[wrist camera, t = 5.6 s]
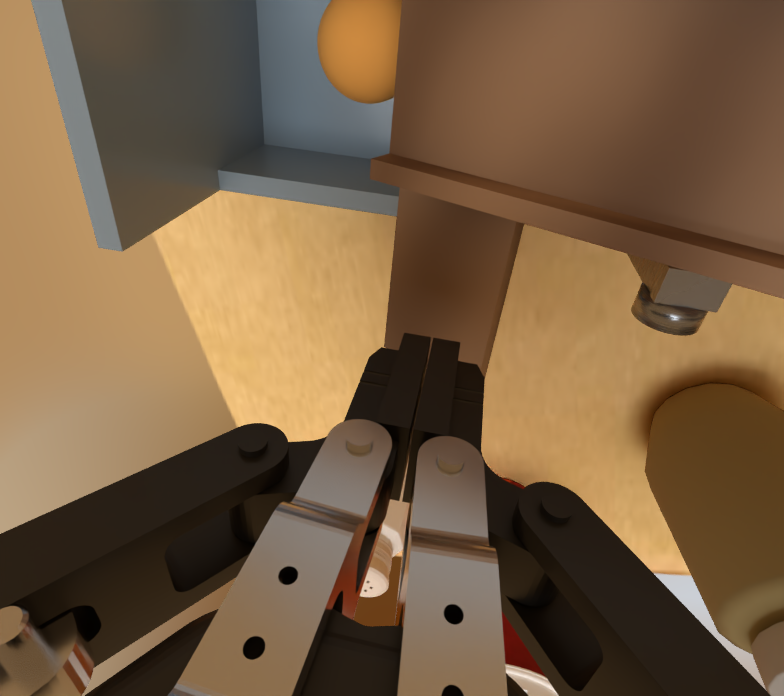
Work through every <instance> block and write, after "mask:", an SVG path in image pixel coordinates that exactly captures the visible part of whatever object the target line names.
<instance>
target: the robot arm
mask: <svg viewBox="0 0 784 696" xmlns="http://www.w3.org/2000/svg"><path fill="white" fill-rule="evenodd" d="M430 343H431V337H427V336H422V335H416V334H410V333H404V334H403V338H402V341H401V344H400V347H399V350H394V349H388V348H382V347H381V348H380V349H379V350H378V351H376V352H375V353H374V354H373V355H371V356H370V357H369V359H368V362H367V364H366V367H365V369H364V372H363V374H362V377H361V379H360V383H359V385H358V387H357V390H356V392H355V395H354V397H353V400H352V402H351V405H350V407H349V410H348V412H347V415H346V417H345V420H344V422H342V423H340V424H338V425H336V426H335V427H334V428H333V429H332V430H331V431H330V433H329V434H328V436H327V437H325V438H322V439H318V440H314V441H302V442H288V440H287V438H286V436H285V434H284V433H283V432H282V431H281V430H280V429H278V428H276V427H274V426H272V425H268V424H262V423H254V424H247V425H243V426H241V427H238V428H236V429H233V430H231V431H229V432H227V433H224V434H222V435H220V436H218V437H216V438H213V439H212V440H209V441H207V442H205V443H202V444H200V445H198V446H195V447H193V448H191V449H189V450H187V451H184V452H182V453H180V454H178V455H176V456H173V457H171V458H169V459H167V460H164V461H162V462H160V463H158V464H155V465H153V466H151V467H149V468H147V469H144V470H142V471H140V472H138V473H135V474H133V475H131V476H129V477H126V478H125V479H122V480H120V481H118V482H115V483H113V484H111V485H109V486H107V487H104V488H102V489H100V490H98V491H95V492H93V493H91V494H88V495H86V496H84V497H82V498H80V499H78V500H75V501H73V502H71V503H68V504H66V505H64V506H62V507H59V508H57V509H55V510H53V511H51V512H48V513H46V514H44V515H42V516H39V517H37V518H35V519H33V520H31V521H28V522H26V523H24V524H22V525H19V526H17V527H15V528H13V529H11V530H8V531H6V532H4V533H1V534H0V696H82V694H83V693H84V691H85V689H86V688H87V686H88V684H89V682H90V679H91V676H92V673H93V668H94V667H96V666H97V665H99V664H100V663H102V662H104V661H105V660H107V659H108V658H110V657H111V656H113V655H115V654H116V653H118V652H119V651H121V650H122V649H124V648H125V647H127V646H129V645H130V644H132V643H133V642H135V641H137V640H138V639H140V638H141V637H143V636H144V635H146V634H148V633H149V632H151V631H152V630H154V629H155V628H157V627H159V626H160V625H162V624H163V623H165V622H166V621H168V620H169V619H171V618H173V617H174V616H176V615H177V614H179V613H181V612H182V611H184V610H185V609H187V608H188V607H190V606H192V605H193V604H194V603H196V602H198V601H199V600H201V599H203V598H204V597H206V596H207V595H209V594H210V593H212V592H214V591H215V590H217V589H218V588H220V587H221V586H223V585H225V584H226V583H228V582H229V581H231V580H232V579H234V578H236V577H237V578H236V579H235V581H234V583H233V585H232V587H231V588H230V590H229V592H228V594H227V596H226V597H225V599H224V601H223V603H222V604H221V606H220V608H219V609H217V610H215V611H212V612H210V613H208V614H205V615H203V616H201V617H199V618H198V619H196V620H194V621H192V622H190V623H189V624H187V625H186V626H184V627H183V628H181V629H180V630H178V631H177V632H175V633H174V634H173V635H171V636H170V637H168V638H167V639H165V640H164V641H162V642H161V643H160V644H158V645H157V646H155V647H154V648H152V649H151V650H150V651H148V652H147V653H145V654H144V655H142V656H141V657H139V658H138V659H137V660H135V661H134V662H132V663H131V664H129V665H128V666H127V667H125V668H124V669H122V670H121V671H119V672H118V673H116V674H115V675H114V676H112V677H111V678H109V679H108V680H107V681H105V682H104V683H102V684H101V685H99V686H98V687H96V688H95V689H93V690H92V691H91V692H89V693H88V694H86V695H85V696H528V694H527V693H526V692H525V691H524V690H523V689H522V688H521V687H520V686H519V685H518V684H517V682H516V681H514V680H513V679H512V678H511V677H510V676H509V675H508V674H507V673H506V666H505V652H504V638H503V624H502V612H503V613H504V615H505V616H506V618H507V619H508V621H509V622H510V624H511V625H512V627H513V628H514V630H515V631H516V633H517V634H518V636H519V637H520V639H521V640H522V642H523V643H524V645H525V646H526V648H527V649H528V651H529V652H530V654H531V655H532V657H533V658H534V660H535V661H536V663H537V664H538V666H539V667H540V669H541V670H542V672H543V673H544V675H545V676H546V678H547V679H548V681H549V682H550V684H551V685H552V687H553V688H554V690H555V691H556V693H557V694H558V696H771V695H770V694H769V693H768V692H767V691H766V690H765V689H764V688H763V687H762V686H761V685H760V684H759V683H758V682H757V681H756V680H755V679H754V678H753V677H752V676H751V674H750V673H749V672H747V670H746V669H745V668H744V667H743V666H742V665H741V664H740V663H739V662H738V661H737V660H736V659H735V658H734V657H733V656H732V655H731V654H730V653H729V652H728V651H727V650H726V648H724V646H722V644H721V643H720V642H719V641H718V640H717V639H716V638H715V637H714V636H713V635H712V634H711V633H710V632H709V631H708V630H707V629H706V628H705V627H704V626H703V625H702V624H701V623H700V621H699V620H698V619H697V618H695V616H694V615H693V614H692V613H691V612H690V611H689V610H688V609H687V608H686V607H685V606H684V605H683V604H682V603H681V602H680V601H679V600H678V599H677V598H676V597H675V596H674V595H673V593H672V592H670V590H669V589H668V588H667V587H666V586H665V585H664V584H663V583H662V582H661V581H660V580H659V579H658V578H657V577H656V576H655V575H654V574H653V573H652V572H651V571H650V570H649V569H648V568H647V566H646V565H645V564H644V563H643V562H642V561H641V560H640V559H639V558H638V557H637V556H636V555H635V554H634V553H633V552H632V551H631V550H630V549H629V548H628V547H627V546H626V545H625V544H624V543H623V542H622V541H621V539H620V538H619V537H618V536H617V535H616V534H615V533H614V532H613V531H612V530H611V529H610V528H609V527H608V526H607V525H606V524H605V523H604V522H603V521H602V520H601V519H600V518H599V517H598V516H597V515H596V514H595V513H594V511H593V510H592V509H591V508H590V507H589V506H588V505H587V504H586V503H585V502H584V501H583V500H582V499H581V498H580V497H579V496H578V495H577V494H575V493H574V492H572V491H571V490H569V489H568V488H566V487H563V486H561V485H558V484H555V483H550V482H536V483H533V484H530V485H528V486H527V487H525V488H524V489H522V488H520V487H518V486H516V485H514V484H512V483H509V482H507V481H506V480H504V479H502V478H500V477H499V476H498V475H496V474H495V473H494V472H493V471H492V470H491V469H490V468H489V467H488V466H487V464H486V463H485V461H484V459H483V457H482V453H481V436H482V417H483V398H484V379H485V378H484V376H483V374H482V372H481V371H480V369H479V367H478V365H477V364H472V363H467V362H461V361H458V357H459V349H460V342H457V341H451V340H445V339H439V338H433V341H432V346H431V351H430V355H429V349H430ZM428 355H429V360H428ZM427 362H428V364H427ZM426 368H427V369H426ZM408 459H409V460H408ZM407 463H408V467H407ZM406 468H407V473H406ZM405 473H406V480H405V486H404V493H403V500H402V502H406V503H409V509H408V516H407V522H406V528H405V534H404V542H403V552H402V562H401V572H400V581H399V591H398V600H397V609H396V618H395V625H394V626H375V627H370V626H364V625H361V624H359V623H357V622H356V621H354V620H353V618H354V614H355V610H356V606H357V603H358V599H359V596H360V593H361V590H362V587H363V584H364V581H365V578H366V575H367V572H368V569H369V566H370V563H371V560H372V557H373V554H374V551H375V548H376V545H377V542H378V539H379V536H380V533H381V530H382V525H383V521H384V520H385V517H386V514H387V510H388V506H389V502H390V499H391V500H396V501H399V500H400V496H401V491H402V486H403V482H404V477H405Z"/></svg>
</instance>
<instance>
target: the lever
mask: <svg viewBox="0 0 784 696" xmlns="http://www.w3.org/2000/svg"><path fill="white" fill-rule="evenodd" d="M370 179H372V180H375V181H379V182H382V183H386V184H389V185H392V186H396V187H399V188H400V190H399V200H398V210H397V221H396V231H395V241H394V251H393V262H392V272H391V282H390V292H389V303H388V313H387V323H386V333H385V343H384V347H386V348H388V349H394V350H399V347H400V344H401V341H402V338H403V334H404V333H410V334H416V335H422V336H427V337H431V343H430V349H429V355H430V351H431V346H432V341H433V338H439V339H445V340H451V341H457V342H460V349H459V357H458V361H461V362H467V363H472V364H477V365H478V367H479V369H480V371H481V372H482V374H483V376H484V378H485V376H486V372H487V368H488V364H489V360H490V356H491V352H492V348H493V344H494V340H495V336H496V332H497V328H498V324H499V320H500V317H501V313H502V309H503V305H504V301H505V297H506V293H507V289H508V285H509V281H510V277H511V273H512V269H513V265H514V261H515V257H516V253H517V249H518V245H519V242H520V238H521V234H522V230H523V226H524V224H527V225H531V226H534V227H538V228H541V229H544V230H548V231H551V232H555V233H558V234H562V235H565V236H569V237H572V238H576V239H579V240H583V241H586V242H589V243H593V244H596V245H600V246H603V247H607V248H610V249H614V250H617V251H621V252H624V253H627V254H631V255H634V256H638V257H641V258H645V259H648V260H652V261H655V262H659V263H662V264H665V265H669V266H672V267H676V268H679V269H683V270H686V271H690V272H693V273H697V274H700V275H703V276H707V277H710V278H714V279H717V280H721V281H724V282H728V283H731V284H735V285H738V286H741V287H745V288H748V289H752V290H755V291H759V292H762V293H766V294H769V295H773V296H776V297H779V298H783V299H784V0H402V5H401V17H400V30H399V42H398V54H397V66H396V78H395V90H394V102H393V115H392V127H391V139H390V151H389V154H385V155H382V156H378V157H375V158H371V166H370ZM429 355H428V360H429ZM427 364H428V362H427Z"/></svg>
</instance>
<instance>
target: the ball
mask: <svg viewBox="0 0 784 696" xmlns="http://www.w3.org/2000/svg"><path fill="white" fill-rule="evenodd" d="M401 5H402V0H331V2H330V3H329V4H328V6H327V7H326V9H325V11H324V13H323V15H322V18H321V21H320V24H319V29H318V36H317V47H318V54H319V59H320V62H321V66H322V68H323V70H324V73H325V74H326V76H327V78H328V80H329V81H330V82H331V84H332V85H333V86H334V87H335V88H336V89H337V90H338V91H339V92H340V93H341V94H343V95H344V96H346V97H347V98H349V99H351V100H353V101H356V102H360V103H366V104H375V103H381V102H384V101H387V100H389V99H391V98H393V97H394V90H395V78H396V66H397V54H398V42H399V30H400V17H401Z"/></svg>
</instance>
